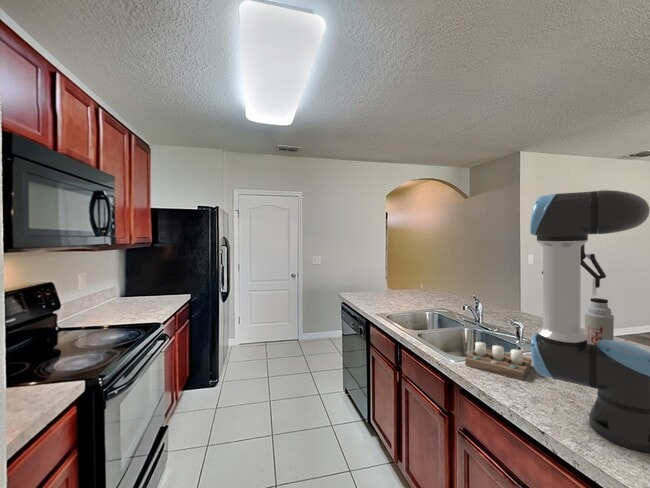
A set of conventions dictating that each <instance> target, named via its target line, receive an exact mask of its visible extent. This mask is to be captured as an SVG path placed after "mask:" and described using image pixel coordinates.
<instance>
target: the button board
mask: <svg viewBox="0 0 650 488" xmlns="http://www.w3.org/2000/svg"><path fill="white" fill-rule="evenodd" d="M464 361H465V363H464V365H465V366H466V367H469V368H474V369H477V370H481V371H485V372H489V373H492V374H496V375H500V376H504V377H509V378H513V379H515V380H519V381H524V380H525V379H526V377H527V375H528V373H529V371H530V369H531V367H532V357H529V356H528V357H526V356H523V366H519V365H514V364H511V353H510V352H509V353H508V352H504V361H497V360H493V359H492V349H490V348H486V357H480V356H476V355H475V349H474V350H472V351H471V352H470V353H469V354H468V355H467V356H466V357H465V360H464Z"/></svg>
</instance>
